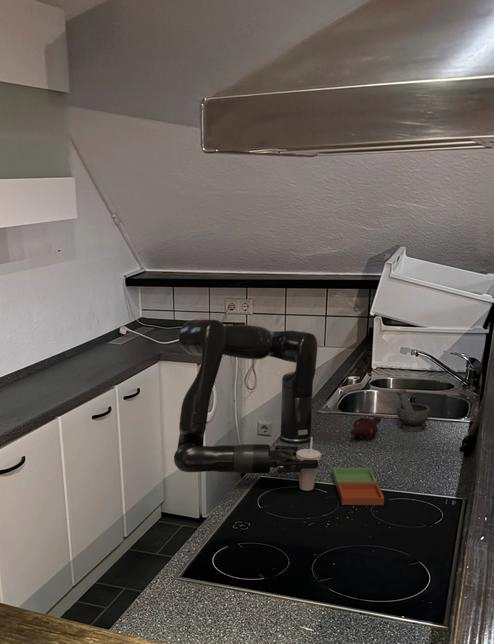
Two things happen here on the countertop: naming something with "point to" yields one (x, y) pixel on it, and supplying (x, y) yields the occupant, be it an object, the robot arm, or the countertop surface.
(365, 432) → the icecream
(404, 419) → the mortar and pestle
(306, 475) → the smoothie
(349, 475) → the green tray
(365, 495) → the terracotta tray
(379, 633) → the countertop surface
